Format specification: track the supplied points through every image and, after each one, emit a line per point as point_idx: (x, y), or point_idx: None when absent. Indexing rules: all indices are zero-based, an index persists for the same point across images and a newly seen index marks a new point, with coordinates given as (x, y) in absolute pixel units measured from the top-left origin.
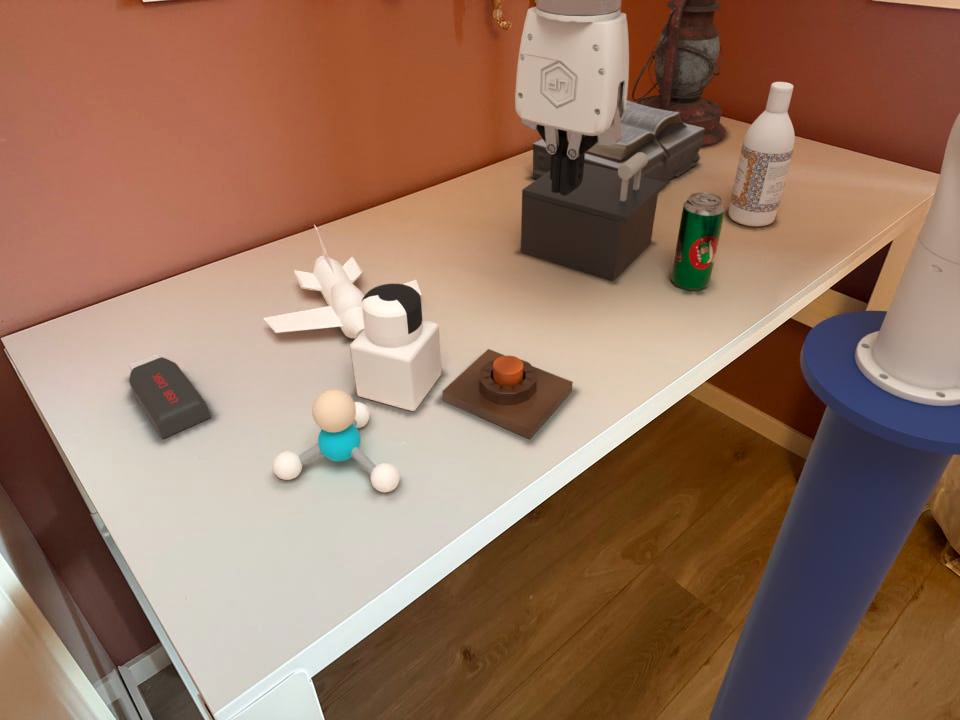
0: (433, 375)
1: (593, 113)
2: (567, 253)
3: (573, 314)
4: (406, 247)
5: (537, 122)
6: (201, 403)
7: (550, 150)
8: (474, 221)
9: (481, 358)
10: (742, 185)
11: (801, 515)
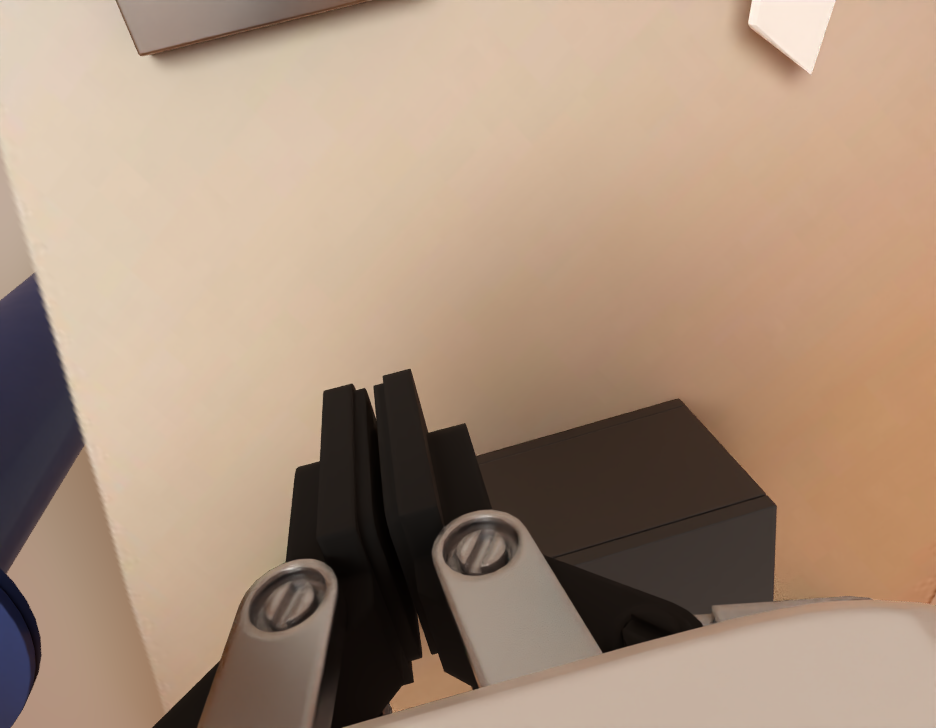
0: None
1: None
2: (568, 454)
3: (408, 311)
4: (931, 206)
5: (638, 653)
6: None
7: (495, 534)
8: (848, 408)
9: None
10: None
11: (18, 364)
